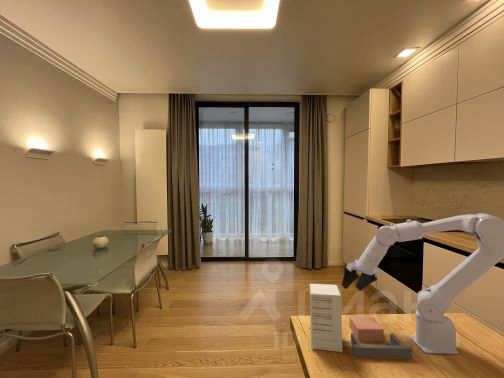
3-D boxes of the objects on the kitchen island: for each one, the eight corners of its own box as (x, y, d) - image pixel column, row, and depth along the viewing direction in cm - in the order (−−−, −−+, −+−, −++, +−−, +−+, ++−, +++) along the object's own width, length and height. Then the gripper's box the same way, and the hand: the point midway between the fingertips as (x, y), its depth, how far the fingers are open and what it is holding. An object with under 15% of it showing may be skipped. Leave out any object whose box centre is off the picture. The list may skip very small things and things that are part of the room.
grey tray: (398, 343, 78) (398, 333, 78) (412, 359, 70) (411, 348, 70) (346, 342, 79) (345, 332, 79) (354, 357, 71) (353, 347, 71)
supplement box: (343, 353, 74) (341, 296, 74) (311, 349, 76) (309, 294, 76) (338, 334, 83) (337, 284, 83) (310, 332, 85) (309, 282, 85)
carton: (372, 327, 87) (372, 316, 87) (383, 341, 79) (383, 329, 79) (349, 327, 88) (349, 316, 88) (358, 341, 80) (358, 329, 80)
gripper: (376, 252, 91) (356, 281, 95) (349, 246, 85) (329, 277, 88) (391, 265, 85) (370, 295, 89) (364, 260, 79) (342, 292, 82)
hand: (351, 287), depth 88 cm, fingers open, 7 cm apart
